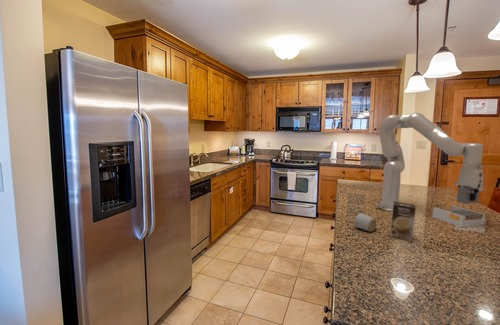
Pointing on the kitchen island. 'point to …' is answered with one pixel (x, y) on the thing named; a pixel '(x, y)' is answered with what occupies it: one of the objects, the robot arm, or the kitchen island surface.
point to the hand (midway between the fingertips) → (467, 199)
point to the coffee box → (402, 221)
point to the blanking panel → (466, 195)
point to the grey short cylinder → (365, 222)
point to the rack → (459, 216)
